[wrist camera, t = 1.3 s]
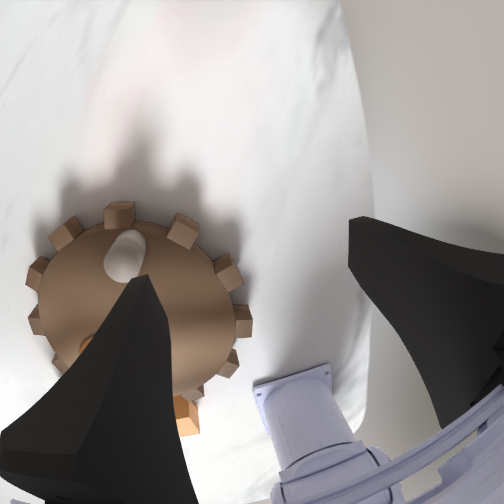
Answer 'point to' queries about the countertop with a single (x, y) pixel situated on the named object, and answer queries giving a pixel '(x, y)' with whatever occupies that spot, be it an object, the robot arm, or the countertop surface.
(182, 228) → the brown gear wheel
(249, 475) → the countertop surface
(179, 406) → the block
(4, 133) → the countertop surface
